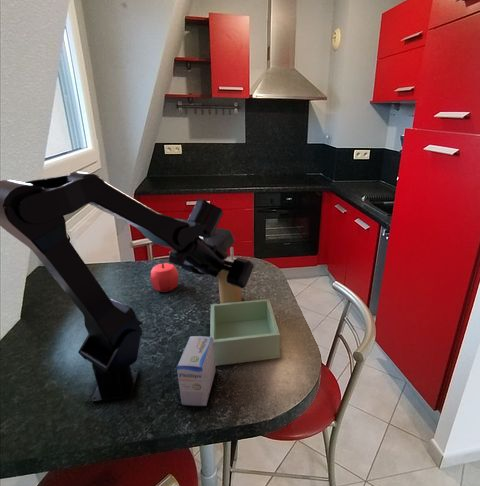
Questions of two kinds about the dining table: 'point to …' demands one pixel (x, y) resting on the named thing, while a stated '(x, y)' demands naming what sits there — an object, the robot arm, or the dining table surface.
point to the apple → (164, 277)
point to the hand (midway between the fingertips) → (232, 277)
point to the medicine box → (196, 371)
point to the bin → (244, 332)
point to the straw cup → (228, 286)
